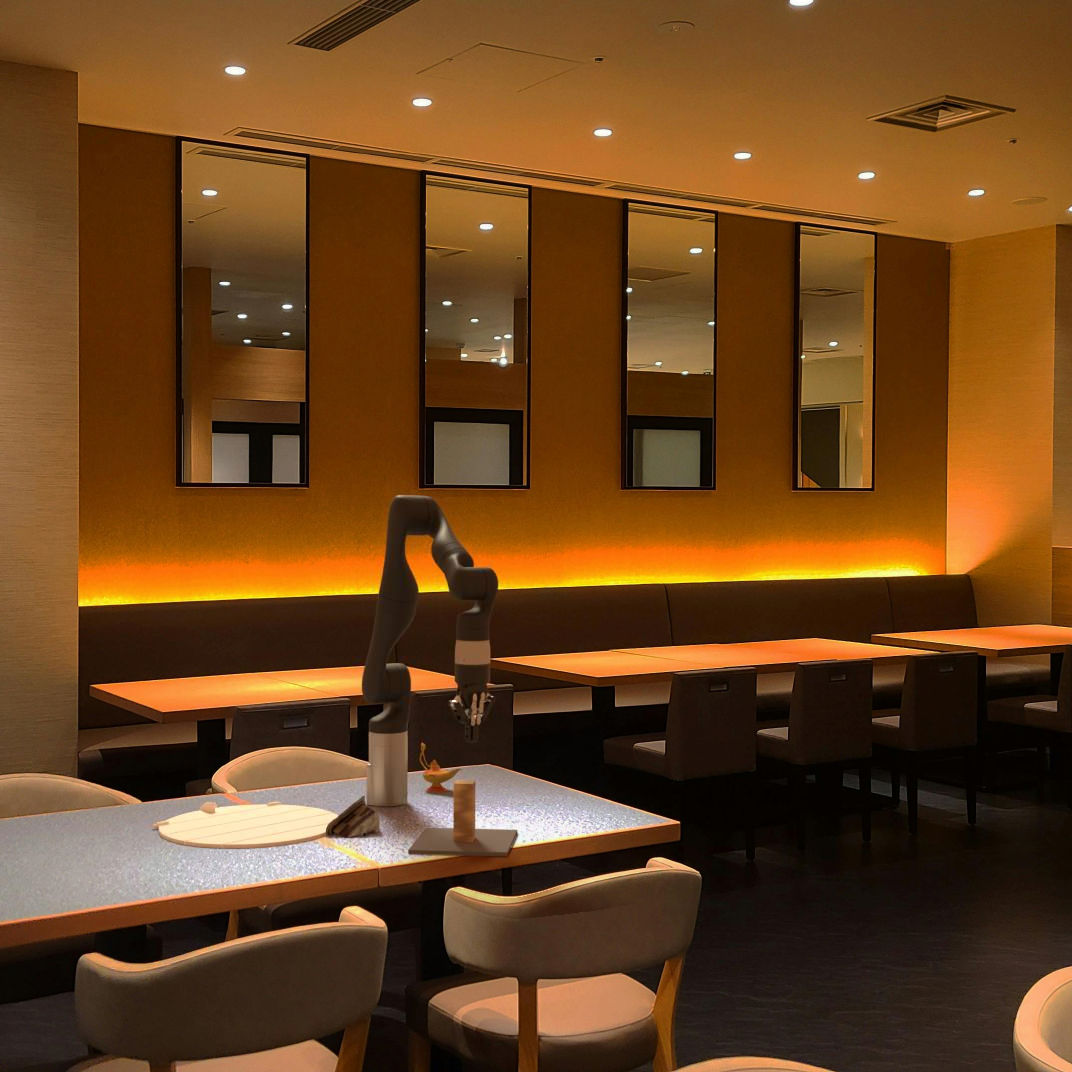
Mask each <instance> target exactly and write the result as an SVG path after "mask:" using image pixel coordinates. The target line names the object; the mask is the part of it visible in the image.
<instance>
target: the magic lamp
mask: <svg viewBox="0 0 1072 1072" xmlns="http://www.w3.org/2000/svg"><path fill="white" fill-rule="evenodd" d="M420 747H421V748H420V750H421V753H420V755H419V763H420V764H421V765H422V767H423V768H424V770H425V771H423V773H422V778H423V779H424V780H425V781H426V782H428V783H430V784H431V785H430V786H429V787H428V788H426V791H428V792H432V793H434V792H435V793H436V792H437V793H438V792H445V791H447V788H445V787H444V786H443V785H442V783H445V782H448V781H450V780H451V779H453V778H454V777H455V776H456V775H457V773H459V771H462V770H463V768H455V769H451V770H449V771H448V770H444V769H442V768H441V767H440V765H438V763H437V760H436V759H433V760H432V762H430V765H429V764H428V762H427V760H426V757H425V753H424V752H425V750H426V747H427V746H426V744H425V743H423V742H421V744H420ZM422 756H423V760H424V763H425V765H426V766H427V767H428V768H429V769H428V768H427V767H426V766H425V765H424V763H423V761H422Z"/></svg>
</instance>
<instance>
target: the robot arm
mask: <svg viewBox="0 0 1072 1072" xmlns="http://www.w3.org/2000/svg"><path fill="white" fill-rule="evenodd" d="M408 536H418V537H419V536H428V537H430V538H431V539H433V540H432V543H431V549H430V554H431V557H432V559H433V562H434V563H435V565H436V566H437V567H438V568H439V569H440V570H441V572H442V573H443V575H444V577H445V581H446V584H447V587H448V591H449V594H450V595H451V596H452V597H453V598H454V599H456V600H458V601H475V603H474V605H473V607H472V608H471V609H469V610H466V611H465V610H464V611H462V612H459V614H457V617H456V628H455V630H456V633H455V634H456V638H455V647H454V649H455V650H454V682H455V683H456V685H457V688H456V691H455V695H456V696H455V697H454V699H453V700H448V701H447V705H448V707H449V708H450V711H451V713H452V715H453V716H454V718H455V719H456V721H457V723H459V724H460V723H461V724H463V725H464V739H465V740H464V741H465V742H466V743H468V744H474V743H477V742H478V741H479V735H480V734H479V732H480V731H479V726H480V724H481V723H482V722H485V721H486V720H487V718H488V716H489V714H490V711H491V709H492V707H493V706H494V703H495V702H496V696H495V695H491V694H490V693H489V688H488V684H489V683H490V682H491V644H490V622H491V621H490V620H491V616H492V614H493V613H492V612H493V608H494V606H495V602H496V598H497V595H498V591H499V578H498V575H497V574H496V572H495V570H494V569H493V568H491V567H488V566H477V567H476V566H475V562H474V558H473V557H472V555H471V554H470V552H468V551H467V549H466V548H465V547H464V546H463V544H461V542H460V541H459V540H458V538H457V537H456V536H455V533H454V532H453V530H452V527H451V526H450V523H449V522H448V520H447V518H446V516H445V514H444V512H443V510H442V509H441V507H440V504H439V503H438V502H437V500H436V499H434V498H433V497H431V496H428V495H427V496H426V495H412V494H410V495H408V494H407V495H406V494H403V495H402V494H400V495H399V494H398V495H396V496H394V498H392V501H391V502H390V506H389V509H388V516H387V525H386V539H385V551H384V552H385V553H384V561H383V568H382V575H381V580H380V586H379V590H378V594H377V595H378V598H377V602H376V609H375V616H374V617H375V618H374V623H373V630H372V635H371V638H370V639H371V640H370V644H369V648H368V652H367V656H366V661H365V665H364V668H363V672H362V679H361V693H362V697H363V698H364V701H366V702H367V703H369V704H387V707H386V708H385V709H384V710H383V711H382V712H381V713H379V714H378V715H376V716H375V715H374V716H373V717H371V718H370V719H369V722H368V763H367V764H366V806H368V805H370V806H371V805H372V806H376V807H398V806H402V805H406V804H407V803H408V763H409V762H408V756H409V755H408V748H409V747H408V732H409V731H408V729H409V728H408V727H409V726H408V725H409V721H410V715H411V695H412V694H411V693H412V677H411V672H410V670H409V668H408V667H407V665H405V664H404V663H399V662H396V663H395V662H394V663H393V662H392V663H388V660H389V657H390V655H391V652H392V650H393V648H394V647H395V645H396V644H397V642H398V641H399V640H400V639H401V637H402V636H403V635H404V634H405V632H406V631H407V630H408V628H409V627H410V625H411V624H412V622H413V621H414V619H415V616H416V611H417V607H418V600H419V585H418V582H417V579H416V578H415V575H414V574H413V572H412V569H411V567H410V565H409V562H408V559H407V555H406V540H407V537H408Z"/></svg>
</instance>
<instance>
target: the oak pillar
mask: <svg viewBox="0 0 1072 1072" xmlns="http://www.w3.org/2000/svg"><path fill="white" fill-rule="evenodd" d="M452 811H453V812H452V813H453V827H452V828H453V842H473V840H474V839H475V829H476V780H475V779H474V780H473V779H456V780H455V782H453V810H452Z"/></svg>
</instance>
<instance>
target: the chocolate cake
mask: <svg viewBox="0 0 1072 1072" xmlns="http://www.w3.org/2000/svg"><path fill="white" fill-rule="evenodd" d="M365 798H366V796H365V795H362V796H361V797H360V798H358V799H357V801H355V802H353V803H352V804H350V806H348V807H347V808H346V809H345V810H344V811H343V812H342V813H340V814H338V817H337V818H336V819H333V820H332V821H331V822H330V823H329V824H328V825H327V828H326V836H331V835H333V836H334V835H336V834H337V835H339V836H341V837H344V838H345V839H348V838H353V837H357V836H361V837H366V836H368V833H369V834H370V833H378V832H380V830H381V826H380V822H381V819H380V813H379V812H378V811H376V810H375V809H373V808H372V807H370V806H368V805H367V803H366V799H365Z"/></svg>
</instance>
